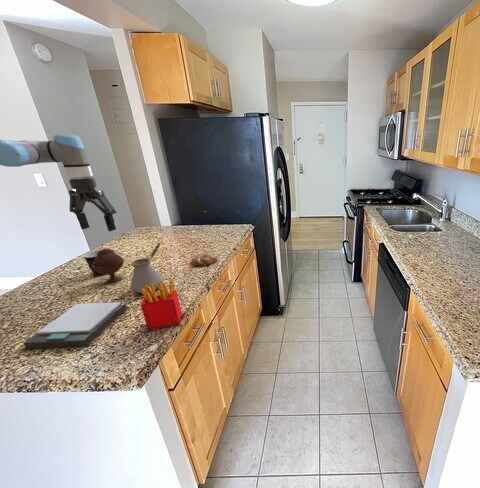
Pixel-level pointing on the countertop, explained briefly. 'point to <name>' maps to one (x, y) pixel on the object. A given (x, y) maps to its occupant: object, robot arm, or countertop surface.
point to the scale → (76, 326)
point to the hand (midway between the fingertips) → (99, 229)
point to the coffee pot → (144, 274)
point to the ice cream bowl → (108, 264)
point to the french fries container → (161, 306)
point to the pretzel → (203, 259)
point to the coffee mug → (90, 259)
